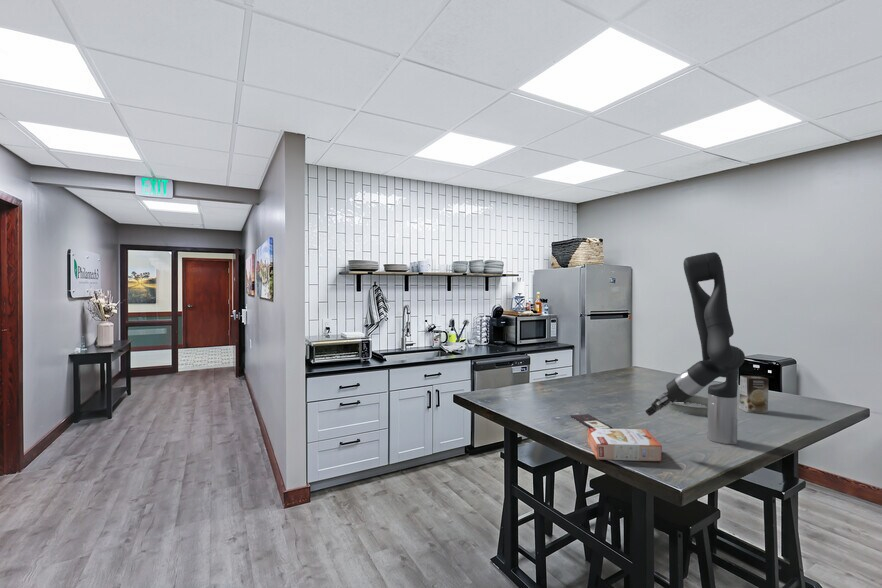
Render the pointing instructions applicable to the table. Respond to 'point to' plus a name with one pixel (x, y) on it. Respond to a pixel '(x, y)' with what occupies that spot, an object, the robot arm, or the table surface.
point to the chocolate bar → (590, 421)
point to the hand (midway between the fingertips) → (648, 413)
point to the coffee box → (754, 394)
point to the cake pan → (692, 409)
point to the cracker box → (624, 444)
